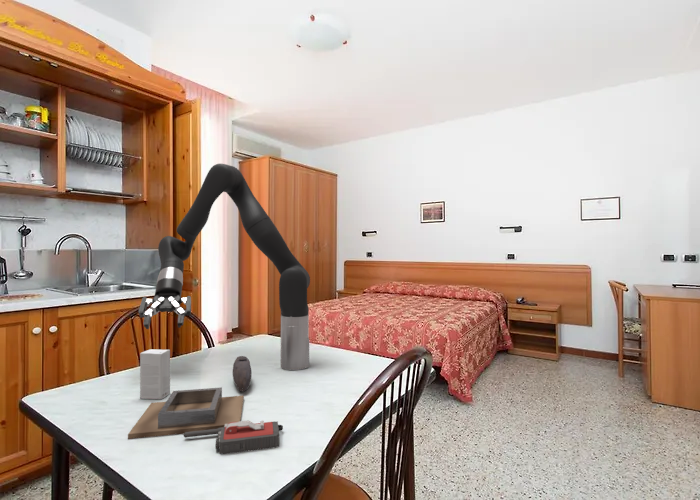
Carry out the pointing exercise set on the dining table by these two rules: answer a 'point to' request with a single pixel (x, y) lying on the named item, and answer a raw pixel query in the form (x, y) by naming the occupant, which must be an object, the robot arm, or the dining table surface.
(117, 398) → the dining table surface
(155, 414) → the board
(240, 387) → the perforated stone tool
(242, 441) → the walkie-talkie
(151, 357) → the skincare box
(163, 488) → the dining table surface
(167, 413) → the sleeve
